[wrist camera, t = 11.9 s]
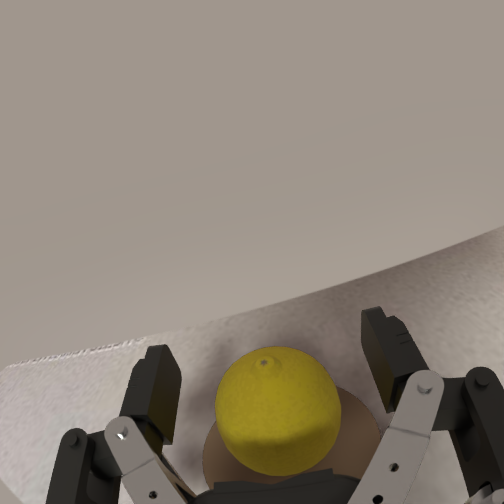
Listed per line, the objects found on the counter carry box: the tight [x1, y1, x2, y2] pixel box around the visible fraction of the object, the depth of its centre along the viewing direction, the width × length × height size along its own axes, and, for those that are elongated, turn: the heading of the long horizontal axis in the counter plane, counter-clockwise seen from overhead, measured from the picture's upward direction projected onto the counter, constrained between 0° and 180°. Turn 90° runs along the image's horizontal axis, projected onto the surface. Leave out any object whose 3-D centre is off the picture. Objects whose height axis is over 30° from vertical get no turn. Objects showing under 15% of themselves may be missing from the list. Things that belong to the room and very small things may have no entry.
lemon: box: [215, 346, 341, 476], centre depth 13 cm, size 6×6×8 cm
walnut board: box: [203, 386, 381, 490], centre depth 15 cm, size 10×10×1 cm
